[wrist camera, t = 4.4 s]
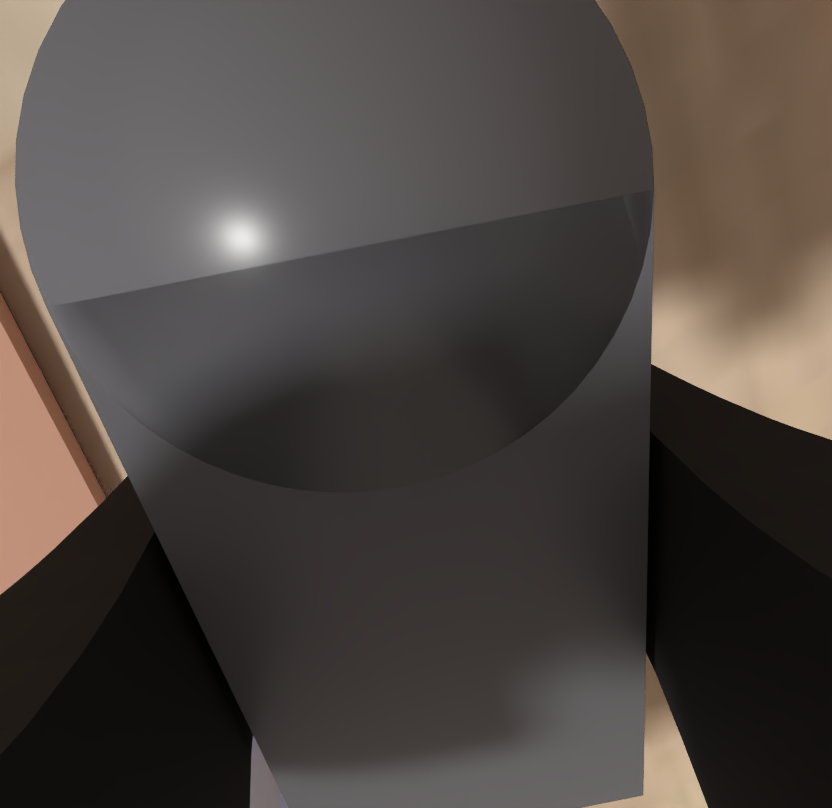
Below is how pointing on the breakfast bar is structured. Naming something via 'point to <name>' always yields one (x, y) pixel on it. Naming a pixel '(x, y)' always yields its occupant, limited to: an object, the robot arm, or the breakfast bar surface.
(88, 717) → the robot arm
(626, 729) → the grey round-top block
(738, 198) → the breakfast bar surface
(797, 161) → the breakfast bar surface
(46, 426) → the rubber mat
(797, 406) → the breakfast bar surface
